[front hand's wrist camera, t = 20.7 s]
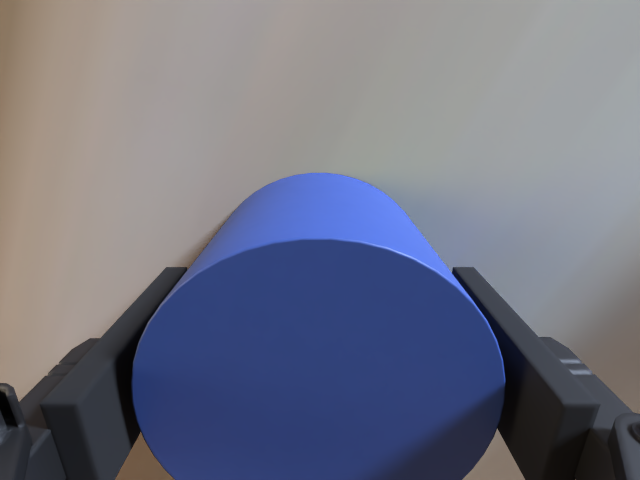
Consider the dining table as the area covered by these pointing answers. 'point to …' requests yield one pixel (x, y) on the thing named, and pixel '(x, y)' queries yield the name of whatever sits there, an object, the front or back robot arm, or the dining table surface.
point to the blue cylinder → (318, 348)
